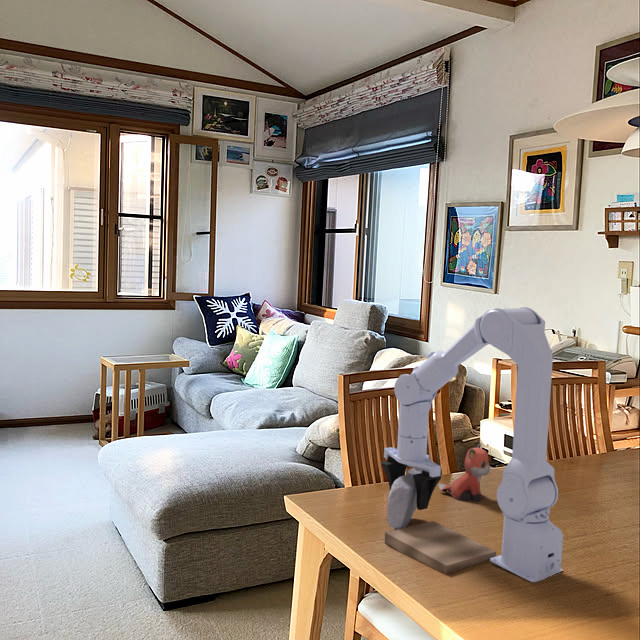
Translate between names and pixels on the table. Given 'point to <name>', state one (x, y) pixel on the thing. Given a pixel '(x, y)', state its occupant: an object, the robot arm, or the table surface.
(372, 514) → the table surface
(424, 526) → the walnut base
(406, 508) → the stone block
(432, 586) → the table surface
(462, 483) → the stuffed fox
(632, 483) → the table surface
